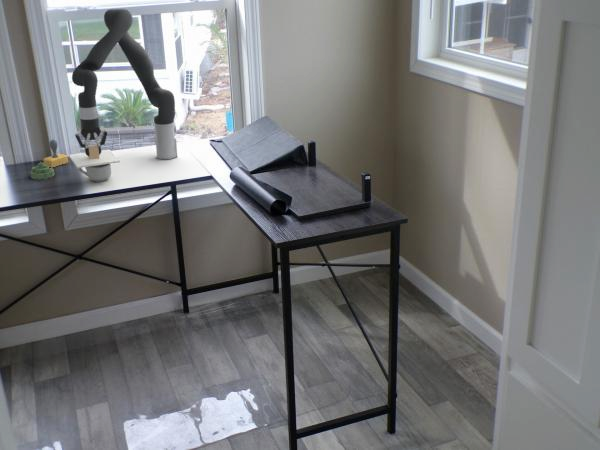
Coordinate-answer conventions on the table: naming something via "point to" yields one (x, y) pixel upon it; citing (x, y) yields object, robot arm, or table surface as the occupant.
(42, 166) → the decorative artifact
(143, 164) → the table surface
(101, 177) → the teacup
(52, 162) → the rubber stamp
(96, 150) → the square lid with knob
